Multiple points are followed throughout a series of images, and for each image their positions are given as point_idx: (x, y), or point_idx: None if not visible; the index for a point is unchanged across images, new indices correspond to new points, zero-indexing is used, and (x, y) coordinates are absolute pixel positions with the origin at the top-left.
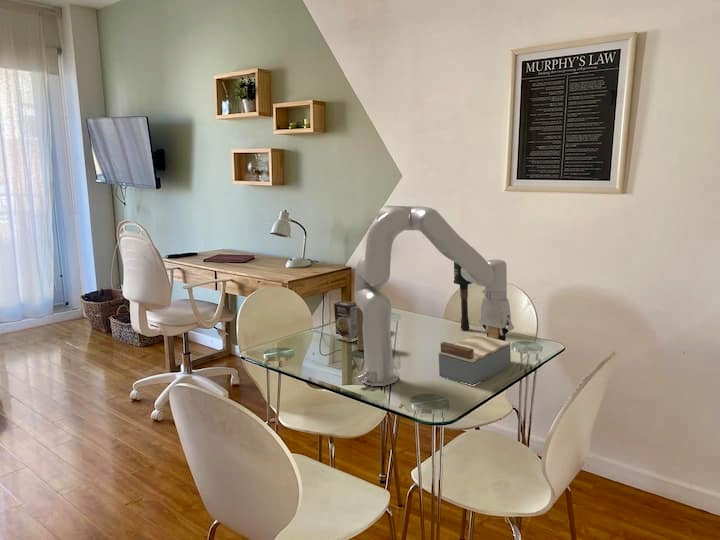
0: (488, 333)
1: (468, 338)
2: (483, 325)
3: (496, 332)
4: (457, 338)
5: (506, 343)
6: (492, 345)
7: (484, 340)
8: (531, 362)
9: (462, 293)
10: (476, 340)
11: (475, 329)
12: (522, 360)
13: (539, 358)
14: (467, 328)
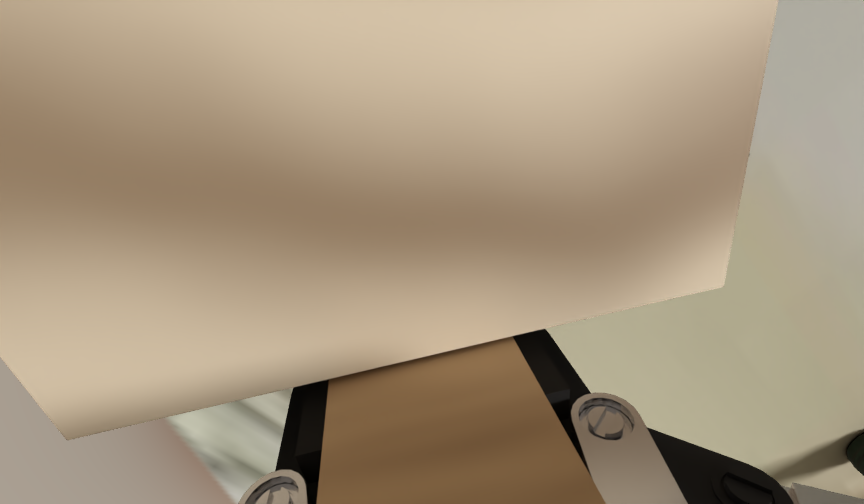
0: (534, 387)
1: (765, 17)
2: (771, 500)
3: (350, 484)
4: (856, 336)
5: (14, 356)
6: (23, 42)
7: (440, 173)
8: (208, 413)
9: None
10: (561, 42)
11: (813, 478)
12: (280, 393)
13: (242, 483)
14: (861, 455)
